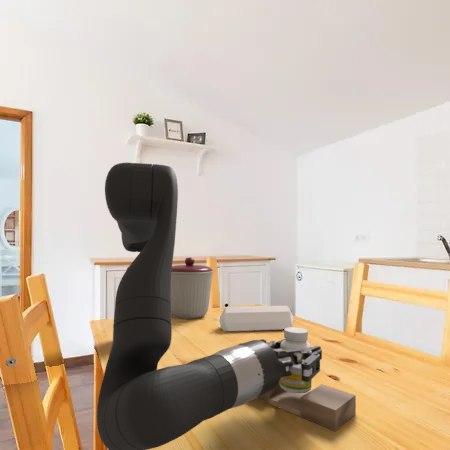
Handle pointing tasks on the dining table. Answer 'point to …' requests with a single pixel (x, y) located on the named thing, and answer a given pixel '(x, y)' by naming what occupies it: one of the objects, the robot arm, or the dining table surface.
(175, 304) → the canister
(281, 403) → the brown wooden cradle
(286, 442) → the dining table surface
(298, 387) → the supplement bottle
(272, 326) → the crystal
